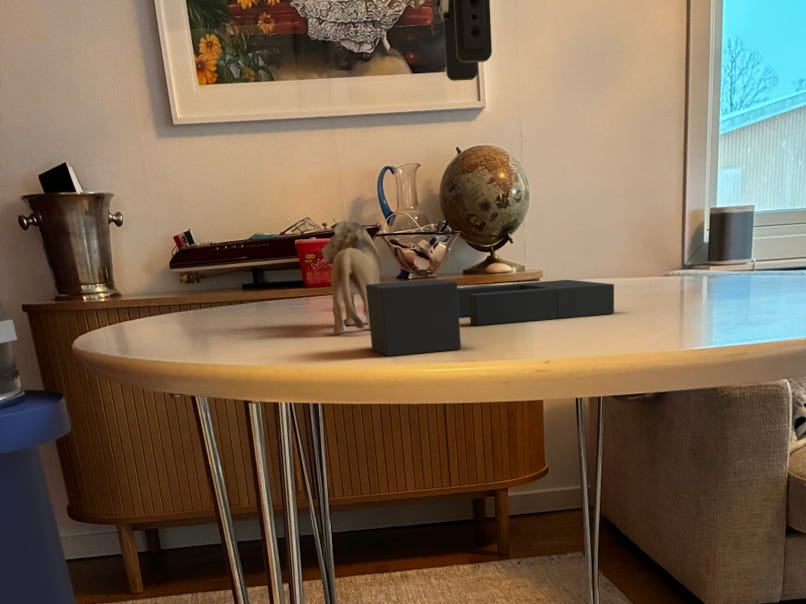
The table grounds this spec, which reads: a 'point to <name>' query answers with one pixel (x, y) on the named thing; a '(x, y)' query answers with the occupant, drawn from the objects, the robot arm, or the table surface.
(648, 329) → the table surface
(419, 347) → the small black block
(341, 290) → the lion figurine
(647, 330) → the table surface
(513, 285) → the big pad
